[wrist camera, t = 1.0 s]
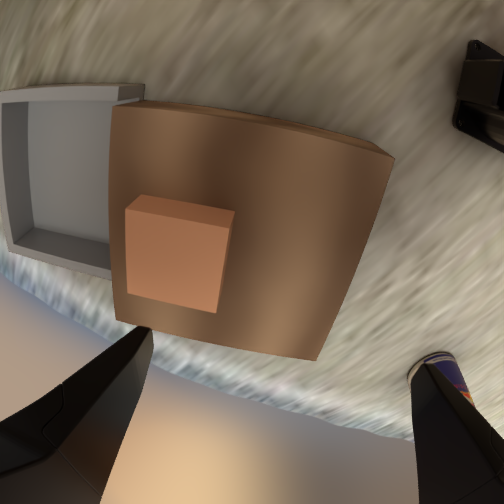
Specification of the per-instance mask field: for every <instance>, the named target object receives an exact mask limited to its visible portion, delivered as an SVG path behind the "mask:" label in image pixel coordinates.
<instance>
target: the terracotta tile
mask: <svg viewBox="0 0 504 504" xmlns="http://www.w3.org/2000/svg"><path fill="white" fill-rule="evenodd" d="M234 216H235V211H231V210H226V209H220V208H215V207H210V206H205V205H199V204H194V203H188V202H183V201H177V200H171V199H166V198H160V197H154V196H148V195H143V194H141V195H140V196H139V197H138V198H137V199H135V200H134V201H133V202H132V203H131V204H130V205H129V206H128V207H127V208H126V209H125V244H126V274H127V293H129V294H133V295H137V296H141V297H145V298H149V299H154V300H158V301H162V302H166V303H171V304H175V305H180V306H184V307H188V308H193V309H198V310H202V311H207V312H212V313H216V312H217V308H218V304H219V300H220V296H221V292H222V287H223V281H224V275H225V269H226V263H227V257H228V251H229V245H230V239H231V233H232V227H233V221H234Z"/></svg>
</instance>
